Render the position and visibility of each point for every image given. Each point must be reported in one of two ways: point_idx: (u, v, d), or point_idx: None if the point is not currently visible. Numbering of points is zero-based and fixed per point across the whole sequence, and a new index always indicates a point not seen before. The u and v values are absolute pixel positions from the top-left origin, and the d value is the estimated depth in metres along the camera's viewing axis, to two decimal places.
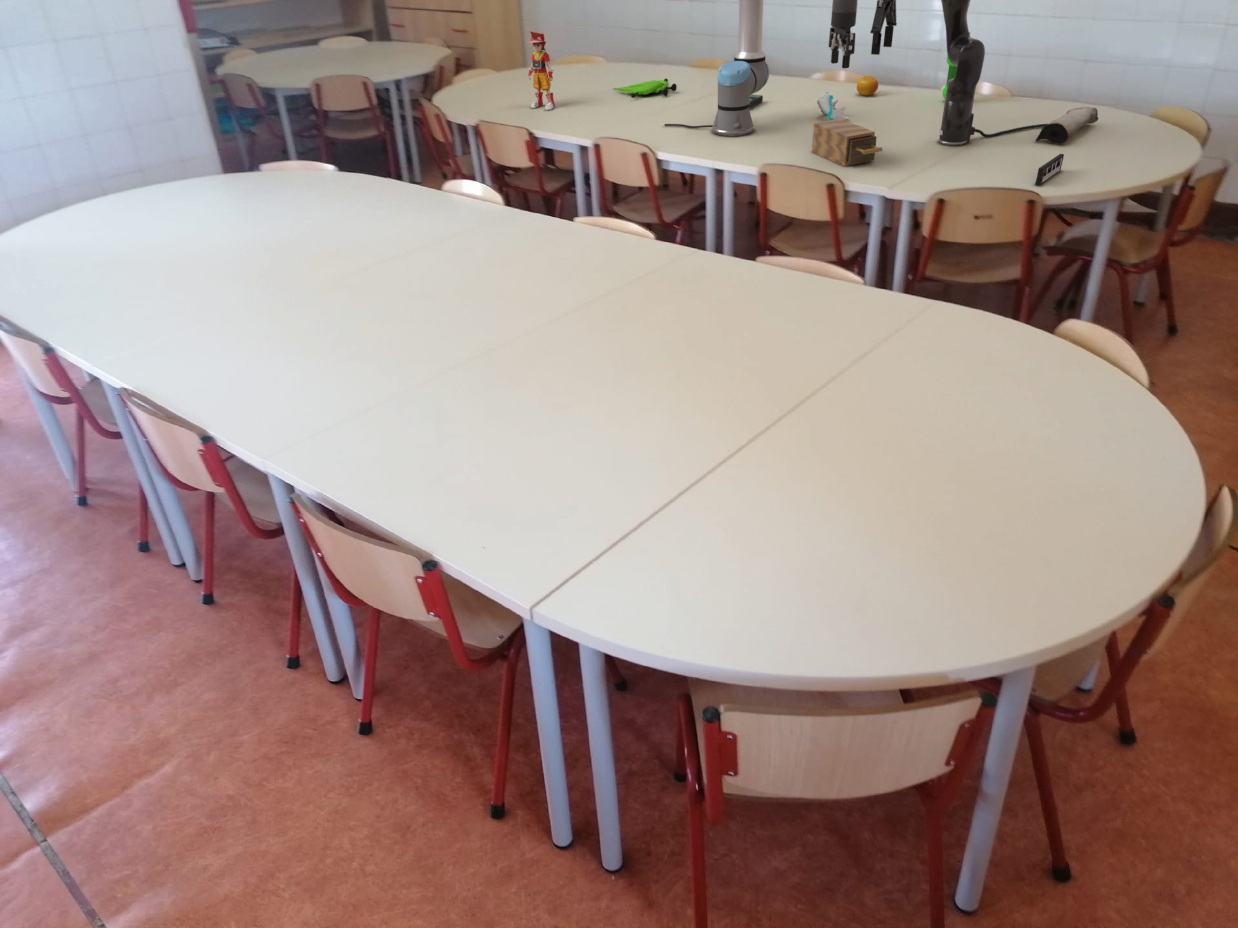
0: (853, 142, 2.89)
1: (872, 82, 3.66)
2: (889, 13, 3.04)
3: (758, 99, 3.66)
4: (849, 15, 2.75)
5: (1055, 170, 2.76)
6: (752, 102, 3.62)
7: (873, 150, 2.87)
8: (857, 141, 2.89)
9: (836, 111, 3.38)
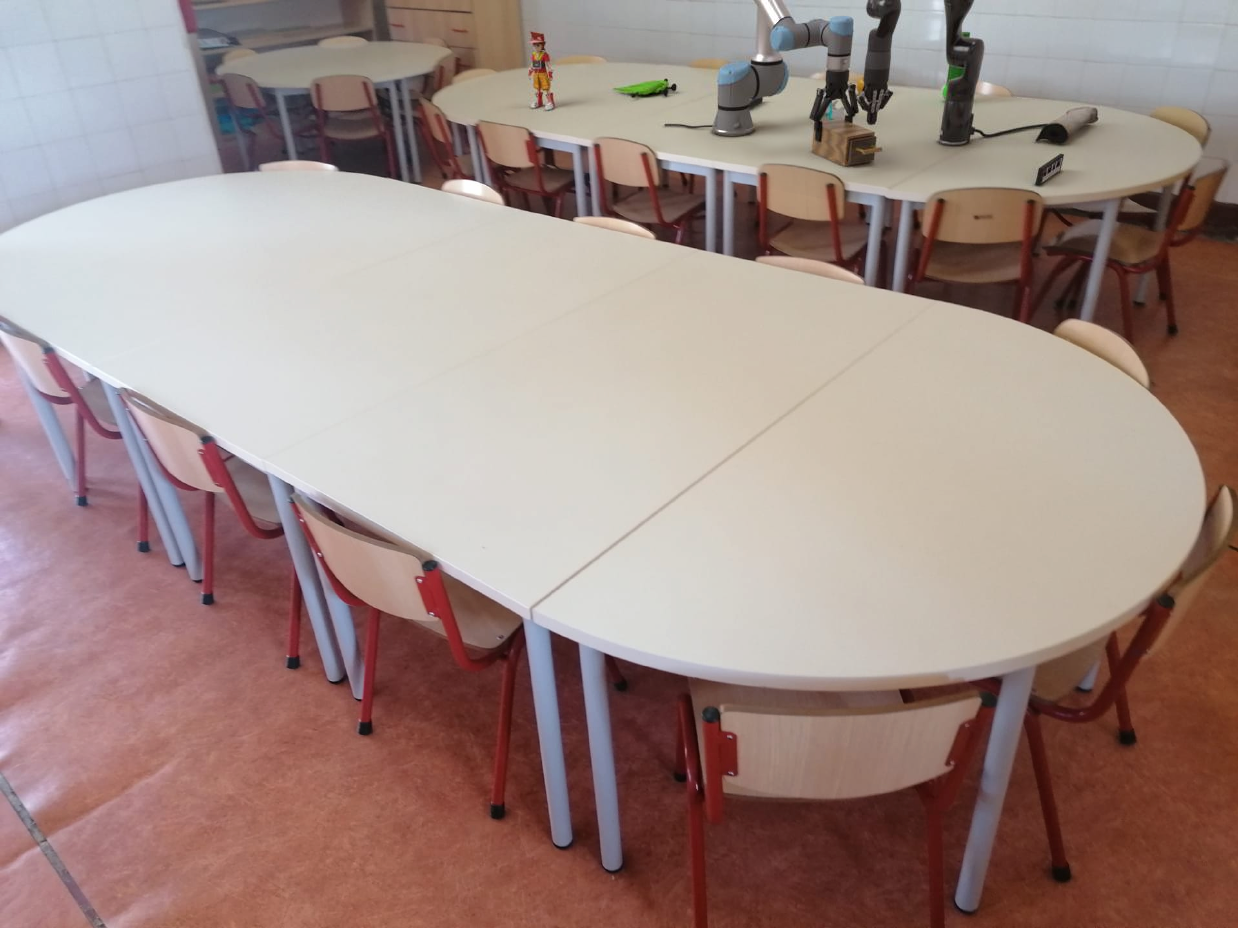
0: (853, 142, 2.89)
1: None
2: (843, 101, 3.00)
3: (758, 99, 3.66)
4: (866, 72, 2.74)
5: (1055, 170, 2.76)
6: (752, 102, 3.62)
7: (873, 150, 2.87)
8: (857, 141, 2.89)
9: (836, 111, 3.38)
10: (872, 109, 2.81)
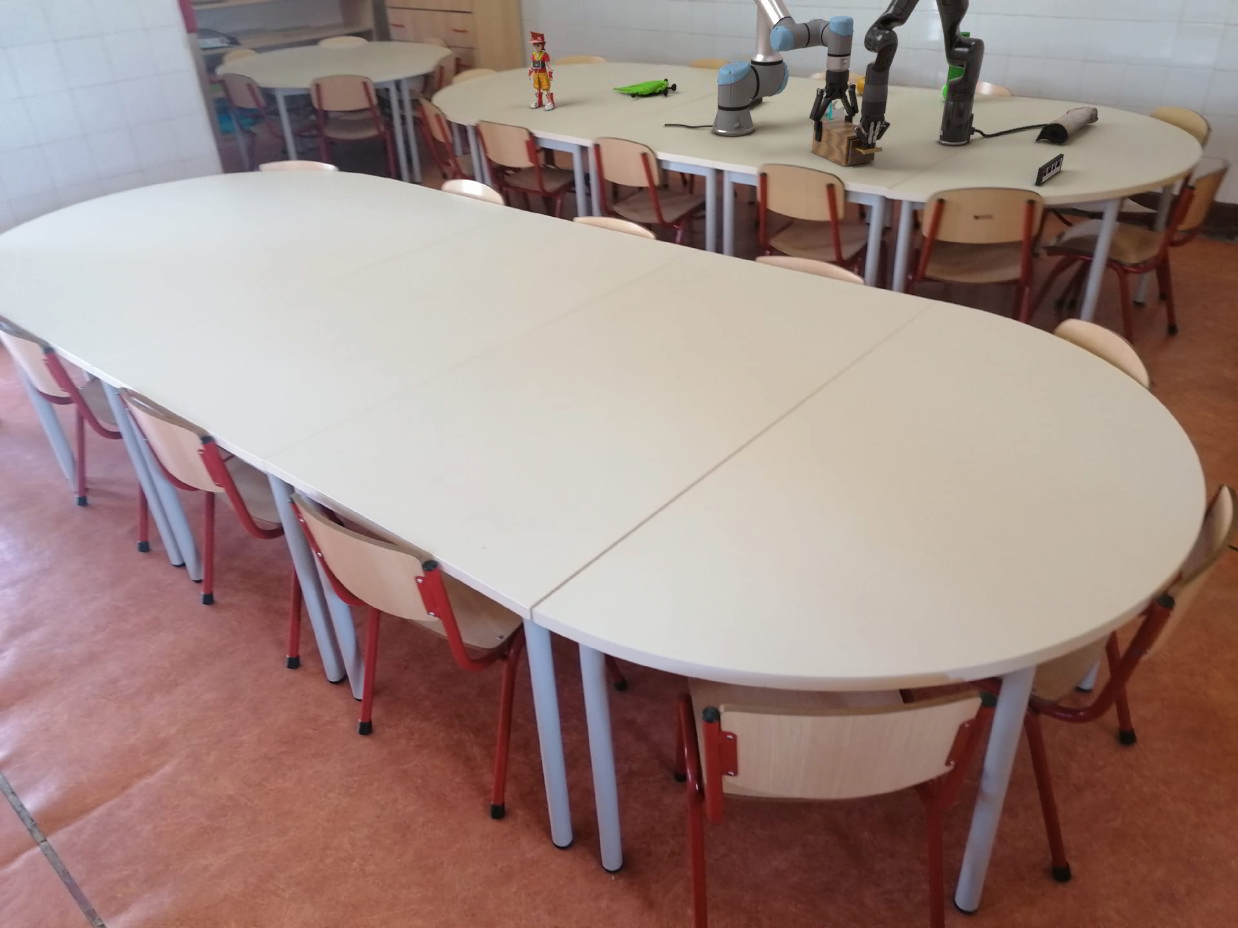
0: (853, 142, 2.89)
1: None
2: (843, 101, 3.00)
3: (758, 99, 3.66)
4: (864, 104, 2.79)
5: (1055, 170, 2.76)
6: (752, 102, 3.62)
7: (873, 150, 2.87)
8: (857, 141, 2.89)
9: (836, 111, 3.38)
10: (869, 140, 2.86)
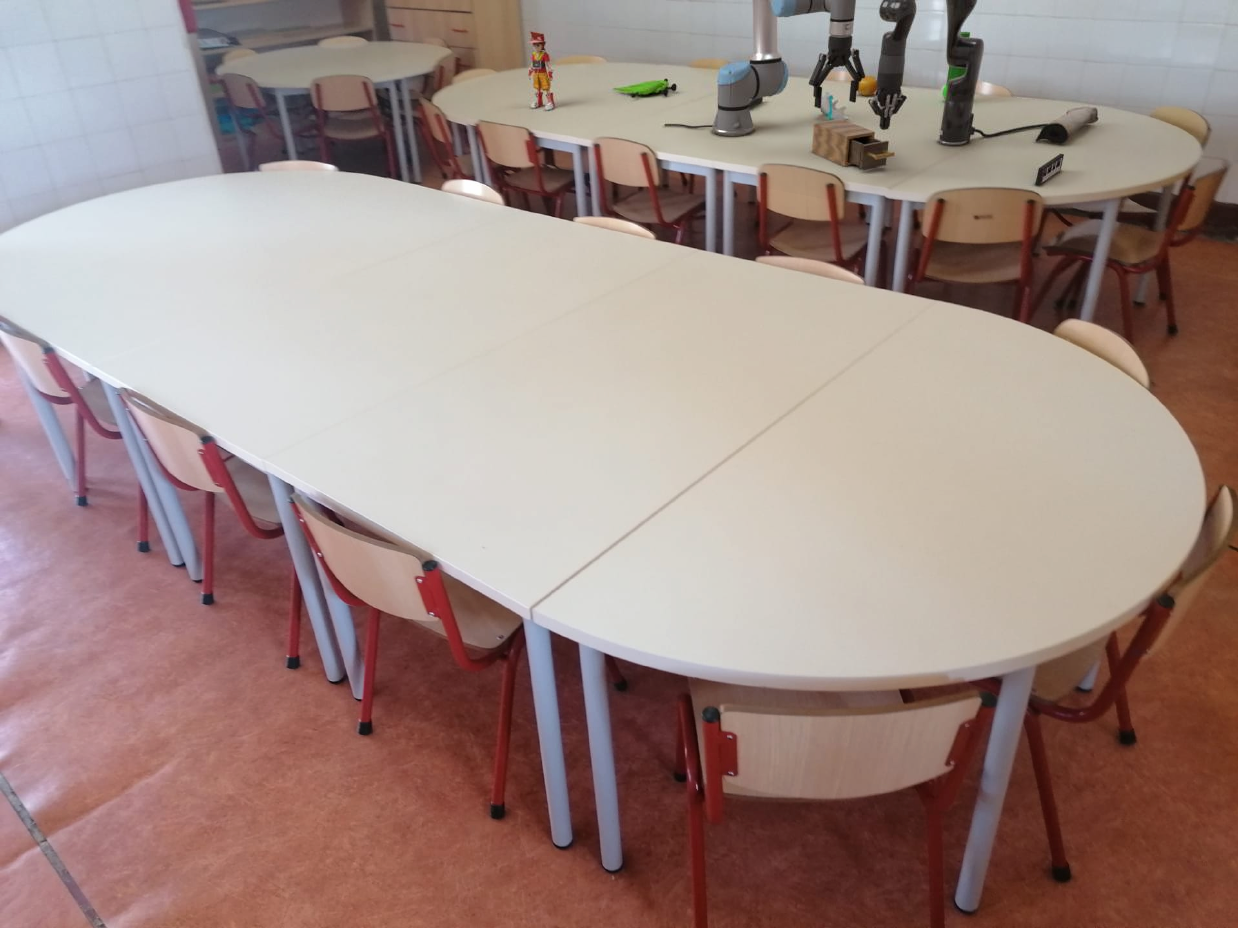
0: (865, 147, 2.84)
1: (872, 82, 3.66)
2: (848, 68, 2.94)
3: (758, 99, 3.66)
4: (880, 76, 2.69)
5: (1055, 170, 2.76)
6: (752, 102, 3.62)
7: (885, 155, 2.82)
8: (869, 146, 2.84)
9: (836, 111, 3.38)
10: (885, 114, 2.75)
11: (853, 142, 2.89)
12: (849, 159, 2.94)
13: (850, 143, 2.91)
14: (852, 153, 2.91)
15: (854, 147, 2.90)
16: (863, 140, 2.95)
